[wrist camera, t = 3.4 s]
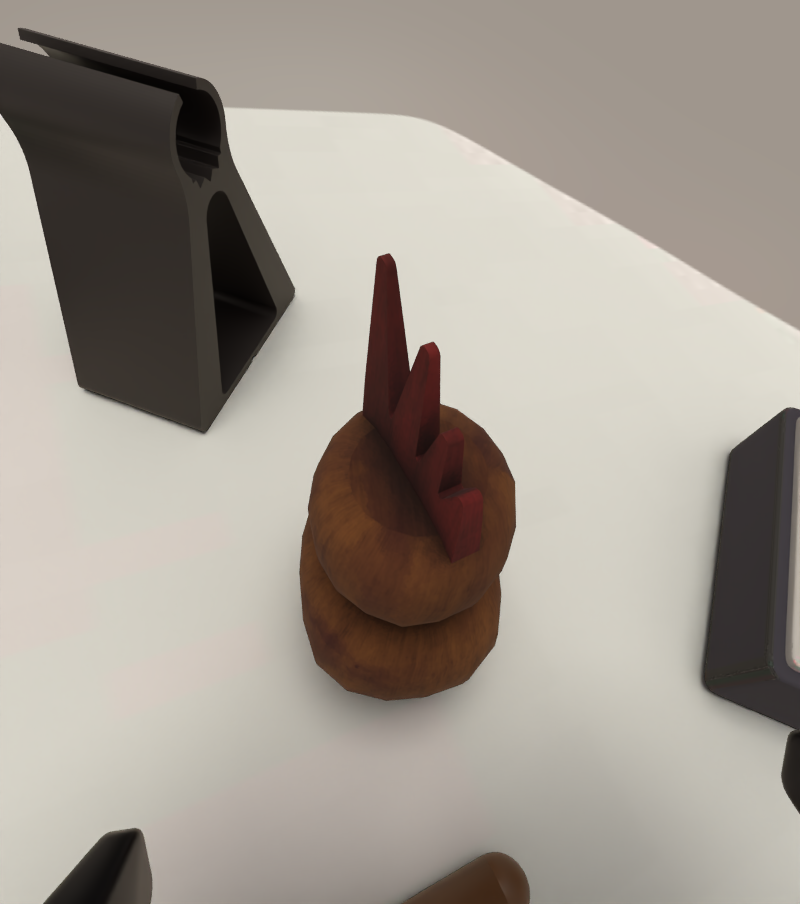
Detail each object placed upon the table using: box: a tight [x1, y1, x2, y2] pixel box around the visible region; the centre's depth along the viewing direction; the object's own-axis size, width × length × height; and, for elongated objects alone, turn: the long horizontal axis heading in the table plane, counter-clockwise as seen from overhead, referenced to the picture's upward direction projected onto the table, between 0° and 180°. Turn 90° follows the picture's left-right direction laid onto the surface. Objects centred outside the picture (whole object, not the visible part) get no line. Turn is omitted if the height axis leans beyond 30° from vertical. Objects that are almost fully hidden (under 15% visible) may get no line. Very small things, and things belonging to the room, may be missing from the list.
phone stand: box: [0, 28, 295, 432], centre depth 22 cm, size 9×6×12 cm, turn 160°
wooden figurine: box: [299, 253, 516, 701], centre depth 14 cm, size 7×6×15 cm
